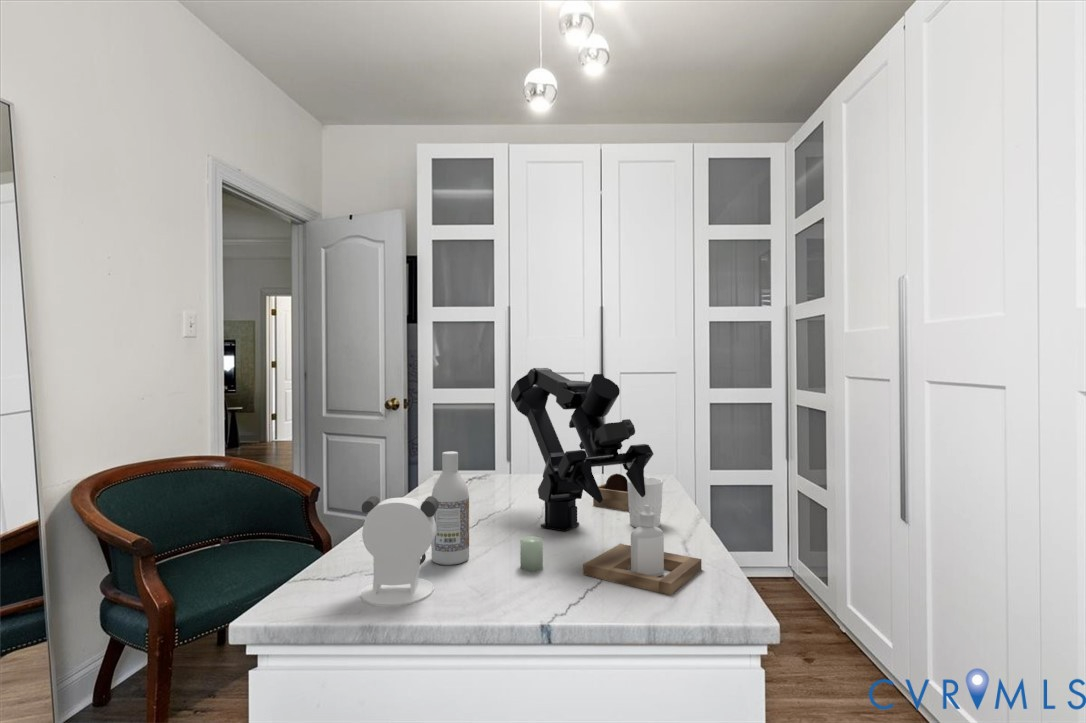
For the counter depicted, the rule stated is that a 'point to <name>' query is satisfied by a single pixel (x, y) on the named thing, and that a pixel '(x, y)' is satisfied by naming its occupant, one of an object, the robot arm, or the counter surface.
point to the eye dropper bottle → (647, 546)
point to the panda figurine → (398, 549)
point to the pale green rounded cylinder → (531, 554)
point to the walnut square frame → (619, 560)
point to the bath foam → (451, 514)
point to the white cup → (645, 500)
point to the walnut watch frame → (612, 499)
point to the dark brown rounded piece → (617, 483)
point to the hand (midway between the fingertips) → (622, 498)
